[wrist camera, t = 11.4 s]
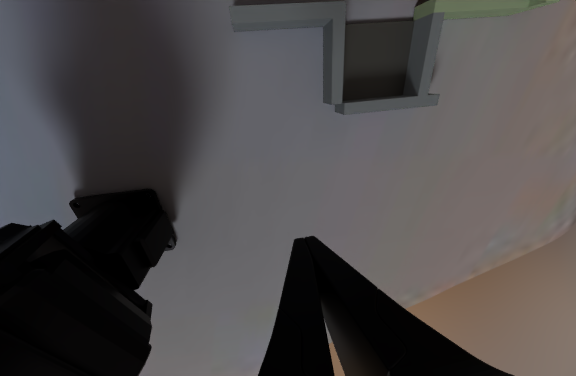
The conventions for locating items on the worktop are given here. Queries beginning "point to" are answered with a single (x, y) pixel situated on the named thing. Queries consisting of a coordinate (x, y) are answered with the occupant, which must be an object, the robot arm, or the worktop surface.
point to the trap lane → (375, 47)
